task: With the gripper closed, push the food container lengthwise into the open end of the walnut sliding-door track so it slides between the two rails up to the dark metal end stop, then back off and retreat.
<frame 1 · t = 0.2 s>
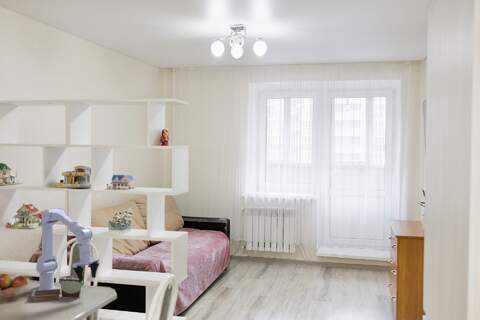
hand: (87, 279, 240), 11 cm above the table, tool pointing down, fingers open, 7 cm apart
food container: (73, 296, 245), on the table
bottom track: (46, 297, 241), on the table
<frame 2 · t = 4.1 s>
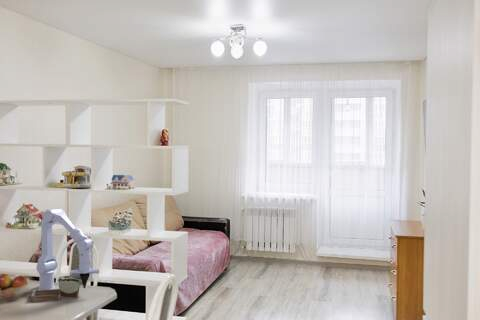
hand: (84, 287, 247), 4 cm above the table, tool pointing down, fingers closed
food container: (71, 296, 245), on the table, touching gripper
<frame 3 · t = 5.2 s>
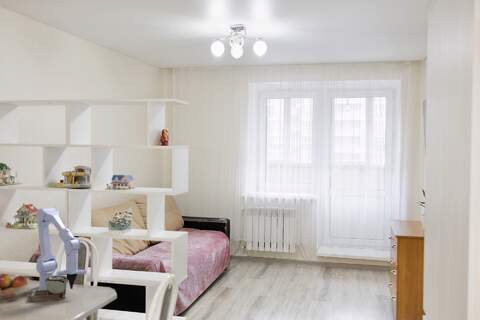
hand: (71, 288, 245), 4 cm above the table, tool pointing down, fingers closed
food container: (59, 296, 244), on the table, touching gripper
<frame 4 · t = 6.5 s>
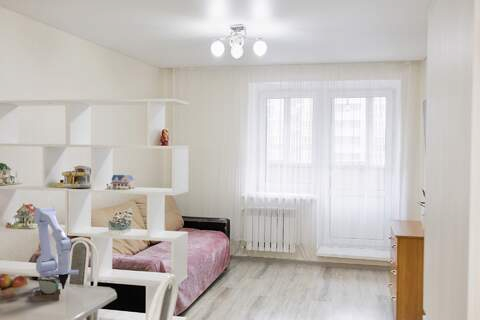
hand: (63, 288, 244), 4 cm above the table, tool pointing down, fingers closed
food container: (52, 296, 244), on the table, touching gripper
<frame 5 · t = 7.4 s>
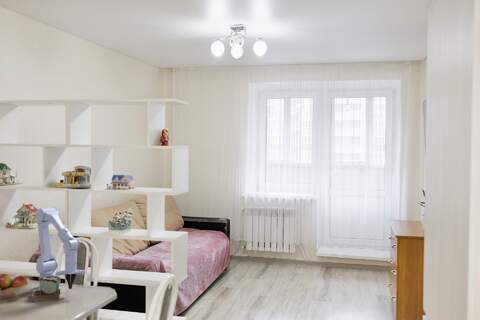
hand: (70, 288, 245), 4 cm above the table, tool pointing down, fingers closed
food container: (52, 296, 244), on the table
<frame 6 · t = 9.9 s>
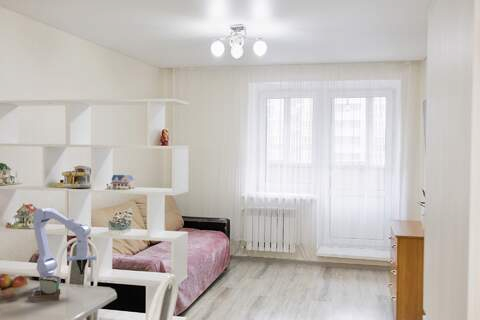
hand: (81, 273, 250), 10 cm above the table, tool pointing down, fingers closed
nothing on the table moved.
at the end: food container 3.1 cm off-centre on the bottom track, point 0.0 cm above the bottom track's base; food container tilted 0°; food container moved 10.4 cm from its start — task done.
